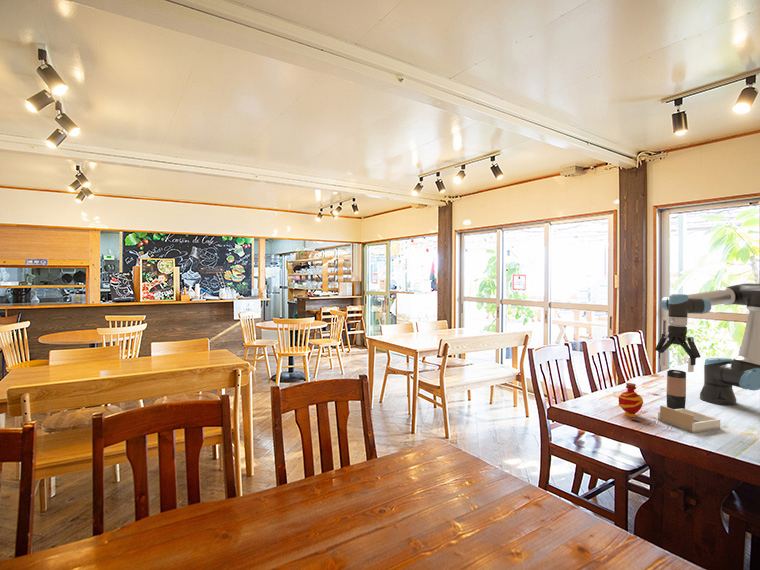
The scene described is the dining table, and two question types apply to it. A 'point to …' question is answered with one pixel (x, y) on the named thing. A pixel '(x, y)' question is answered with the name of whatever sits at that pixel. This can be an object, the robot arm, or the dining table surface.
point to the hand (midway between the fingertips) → (676, 368)
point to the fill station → (688, 419)
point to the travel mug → (676, 389)
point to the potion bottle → (630, 400)
